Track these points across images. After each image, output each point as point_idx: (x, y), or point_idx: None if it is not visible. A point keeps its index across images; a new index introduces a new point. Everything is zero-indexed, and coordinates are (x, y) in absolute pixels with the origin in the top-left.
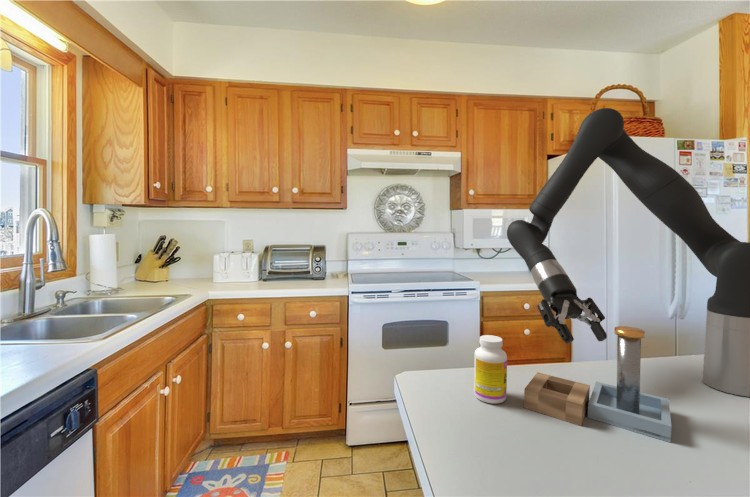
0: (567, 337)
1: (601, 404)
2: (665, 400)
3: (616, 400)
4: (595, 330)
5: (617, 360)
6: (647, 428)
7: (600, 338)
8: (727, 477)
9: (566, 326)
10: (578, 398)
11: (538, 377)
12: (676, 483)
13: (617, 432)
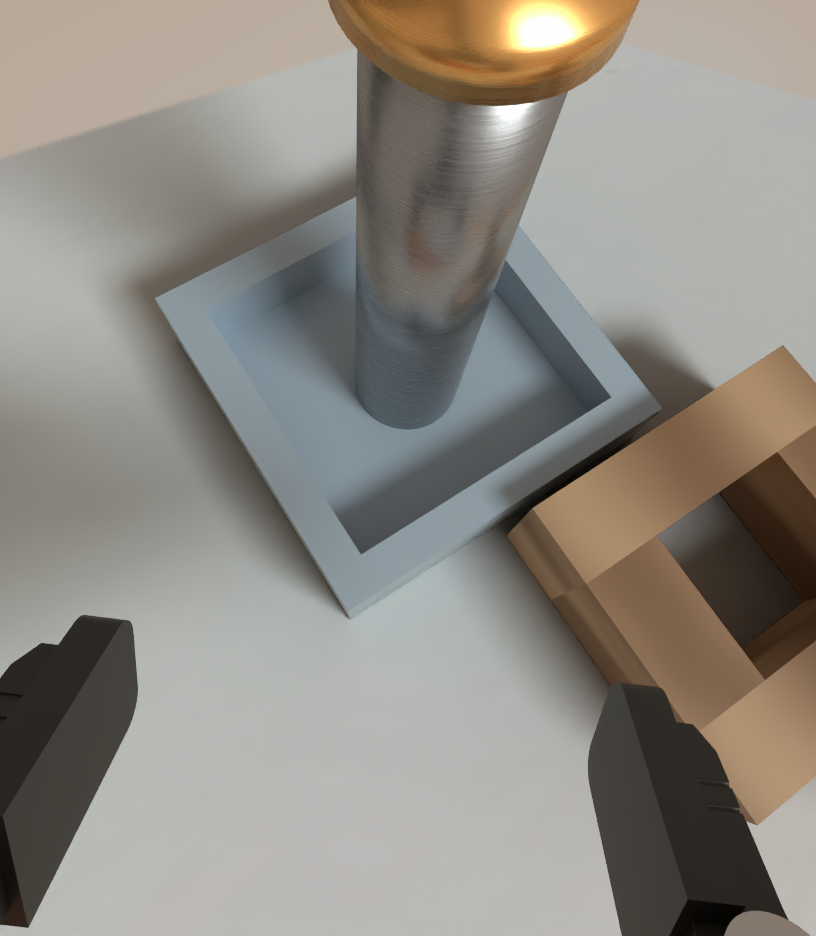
0: (684, 733)
1: (597, 377)
2: (193, 293)
3: (445, 401)
4: (65, 794)
5: (501, 254)
6: None
7: (123, 686)
8: None
9: (686, 857)
10: (750, 401)
11: (809, 734)
12: (664, 79)
13: (597, 310)
